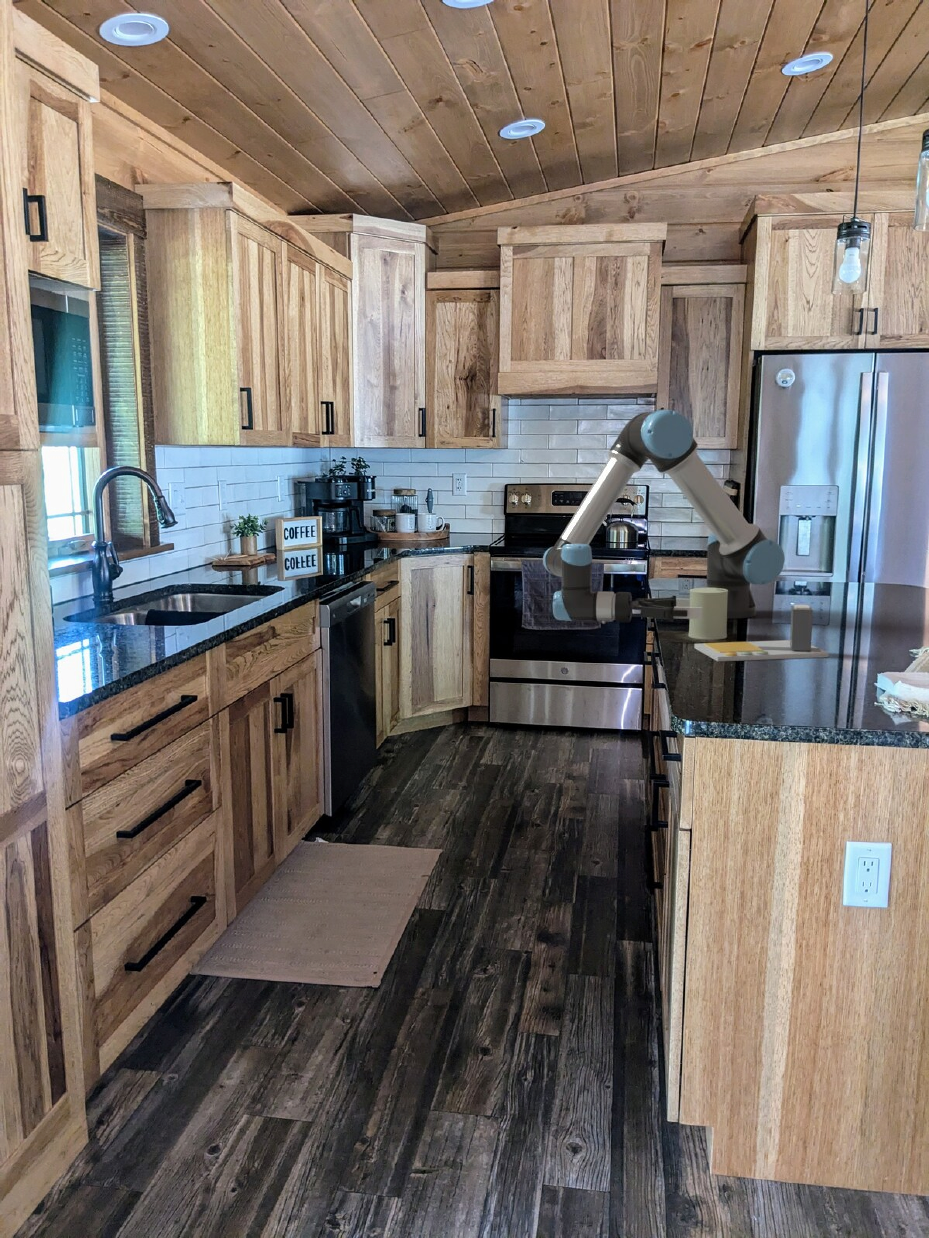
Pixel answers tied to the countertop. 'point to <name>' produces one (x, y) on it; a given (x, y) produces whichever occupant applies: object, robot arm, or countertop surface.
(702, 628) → the can
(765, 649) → the panel
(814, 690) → the countertop surface
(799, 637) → the grey upright block
